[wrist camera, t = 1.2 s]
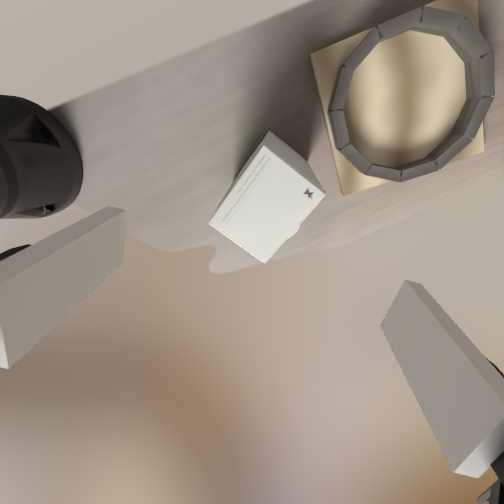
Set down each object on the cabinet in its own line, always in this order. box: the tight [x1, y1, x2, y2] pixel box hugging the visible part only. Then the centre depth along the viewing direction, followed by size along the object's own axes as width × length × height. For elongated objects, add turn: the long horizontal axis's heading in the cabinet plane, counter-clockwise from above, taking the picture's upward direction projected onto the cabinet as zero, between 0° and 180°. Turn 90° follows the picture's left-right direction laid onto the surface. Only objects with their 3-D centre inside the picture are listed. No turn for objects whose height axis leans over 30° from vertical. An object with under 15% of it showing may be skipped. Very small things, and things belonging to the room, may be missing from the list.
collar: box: [310, 0, 495, 196], centre depth 31 cm, size 16×16×4 cm
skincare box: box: [208, 131, 326, 263], centre depth 30 cm, size 8×7×16 cm
